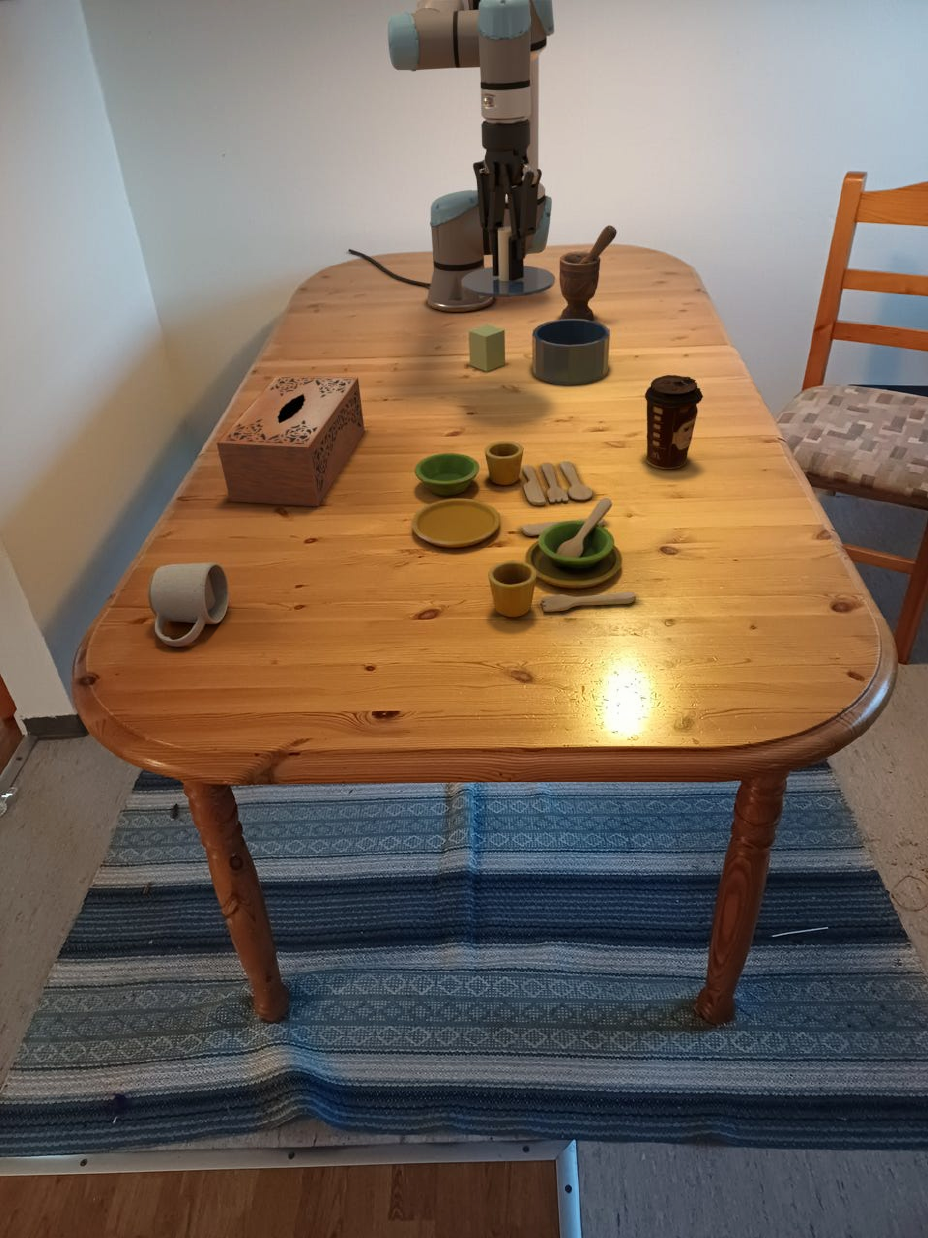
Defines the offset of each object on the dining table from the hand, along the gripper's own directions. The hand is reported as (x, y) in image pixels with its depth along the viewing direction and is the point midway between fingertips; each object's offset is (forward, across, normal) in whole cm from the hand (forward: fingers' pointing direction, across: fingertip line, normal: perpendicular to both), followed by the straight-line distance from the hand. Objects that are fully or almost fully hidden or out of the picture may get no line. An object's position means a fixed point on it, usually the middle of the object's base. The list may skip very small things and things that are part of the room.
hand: (508, 276), depth 151 cm
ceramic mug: (+23, +19, -75) cm, 81 cm away
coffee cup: (+23, +35, +1) cm, 42 cm away
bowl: (+22, -2, +18) cm, 29 cm away
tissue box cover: (+23, -7, -41) cm, 47 cm away
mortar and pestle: (+22, -19, +41) cm, 50 cm away
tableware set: (+23, +33, -32) cm, 51 cm away
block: (+22, -16, +9) cm, 29 cm away
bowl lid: (+1, 0, 0) cm, 1 cm away
